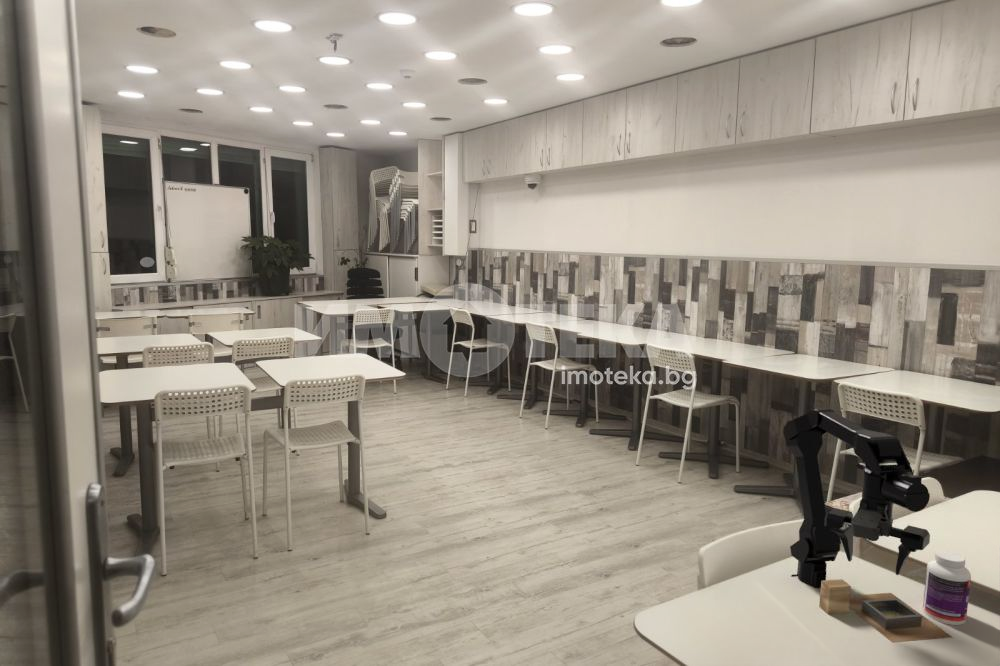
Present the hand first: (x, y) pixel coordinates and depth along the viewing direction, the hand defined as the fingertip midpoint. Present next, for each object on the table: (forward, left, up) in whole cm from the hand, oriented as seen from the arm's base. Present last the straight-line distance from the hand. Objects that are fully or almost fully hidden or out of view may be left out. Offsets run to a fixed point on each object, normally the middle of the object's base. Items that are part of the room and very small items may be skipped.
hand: (873, 567), depth 145 cm
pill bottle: (-1, +19, -14) cm, 23 cm away
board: (-2, +7, -13) cm, 15 cm away
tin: (-1, +6, -13) cm, 14 cm away
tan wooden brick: (-6, -4, -13) cm, 15 cm away
